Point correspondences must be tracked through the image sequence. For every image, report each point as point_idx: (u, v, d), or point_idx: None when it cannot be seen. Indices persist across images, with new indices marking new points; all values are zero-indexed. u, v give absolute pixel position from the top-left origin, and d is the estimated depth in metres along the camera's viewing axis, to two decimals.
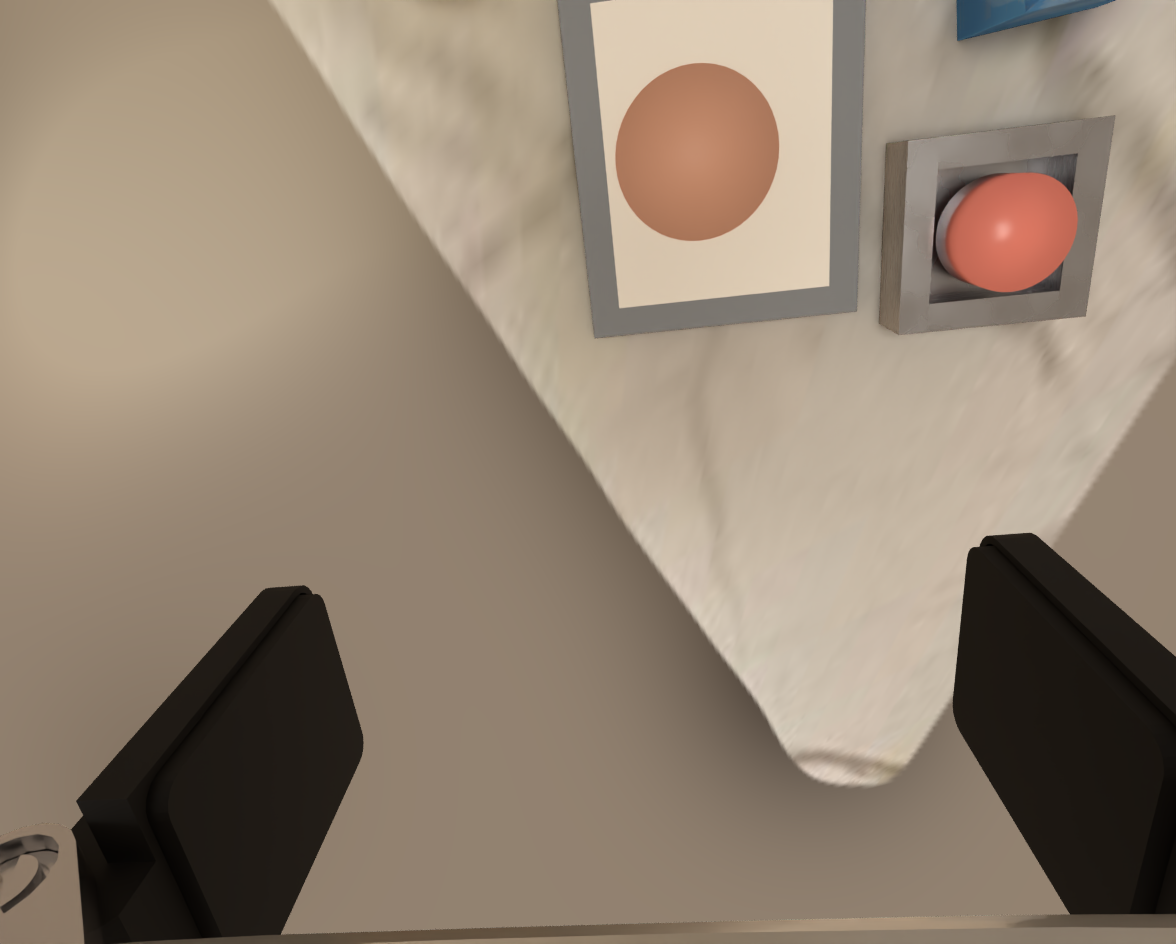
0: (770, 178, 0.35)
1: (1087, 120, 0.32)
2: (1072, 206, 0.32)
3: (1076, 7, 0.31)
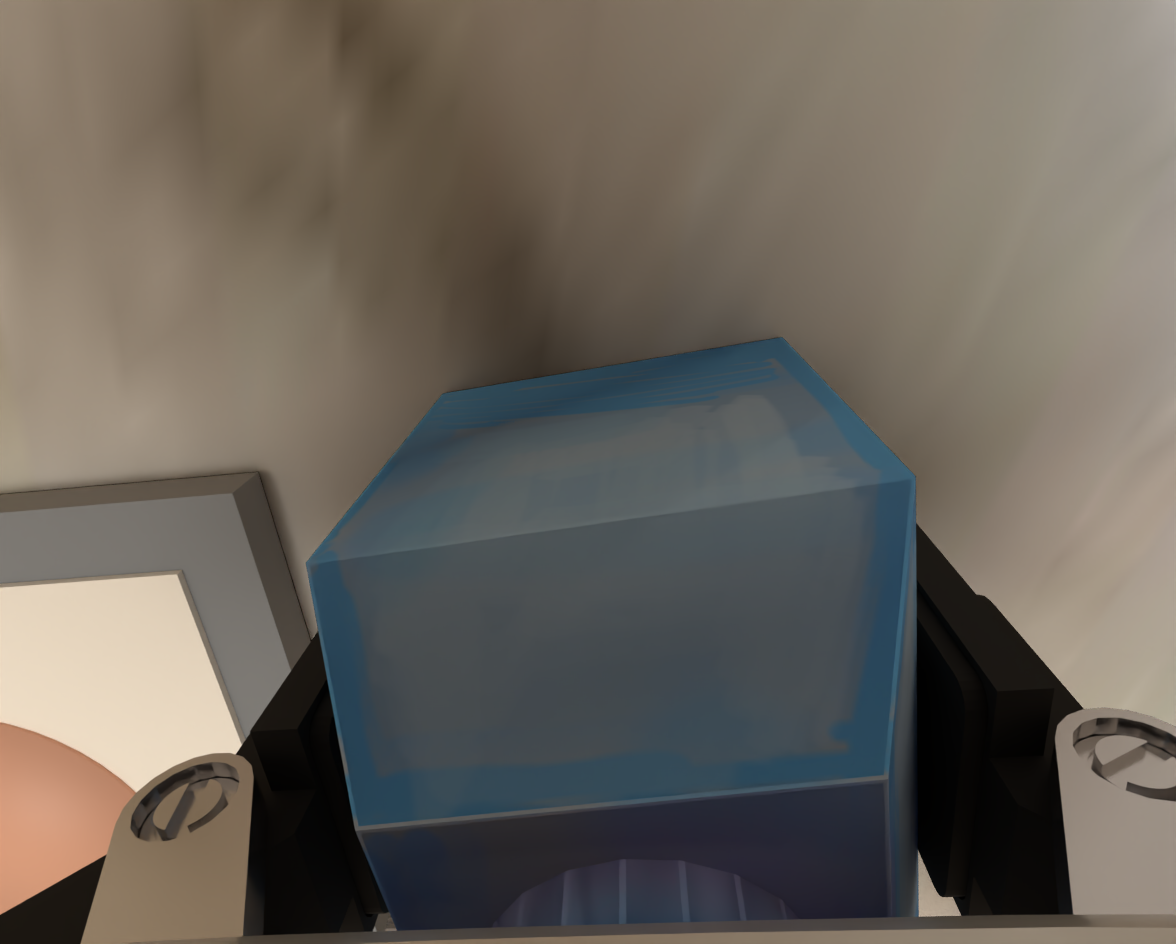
0: None
1: None
2: None
3: None
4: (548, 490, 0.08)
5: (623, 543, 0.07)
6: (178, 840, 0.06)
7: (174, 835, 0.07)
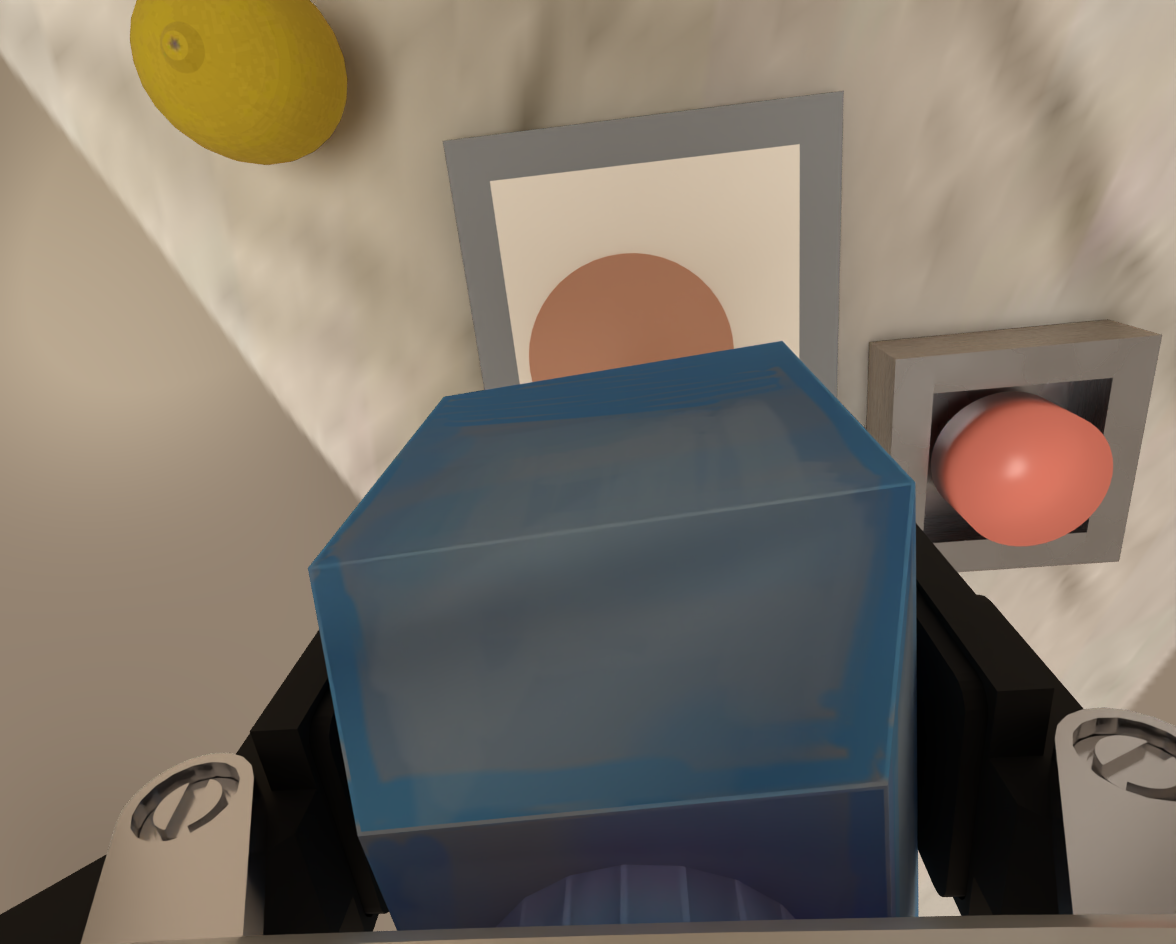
0: None
1: (1126, 340, 0.25)
2: (1106, 451, 0.25)
3: None
4: (549, 495, 0.08)
5: (624, 549, 0.07)
6: (178, 840, 0.06)
7: (174, 835, 0.07)
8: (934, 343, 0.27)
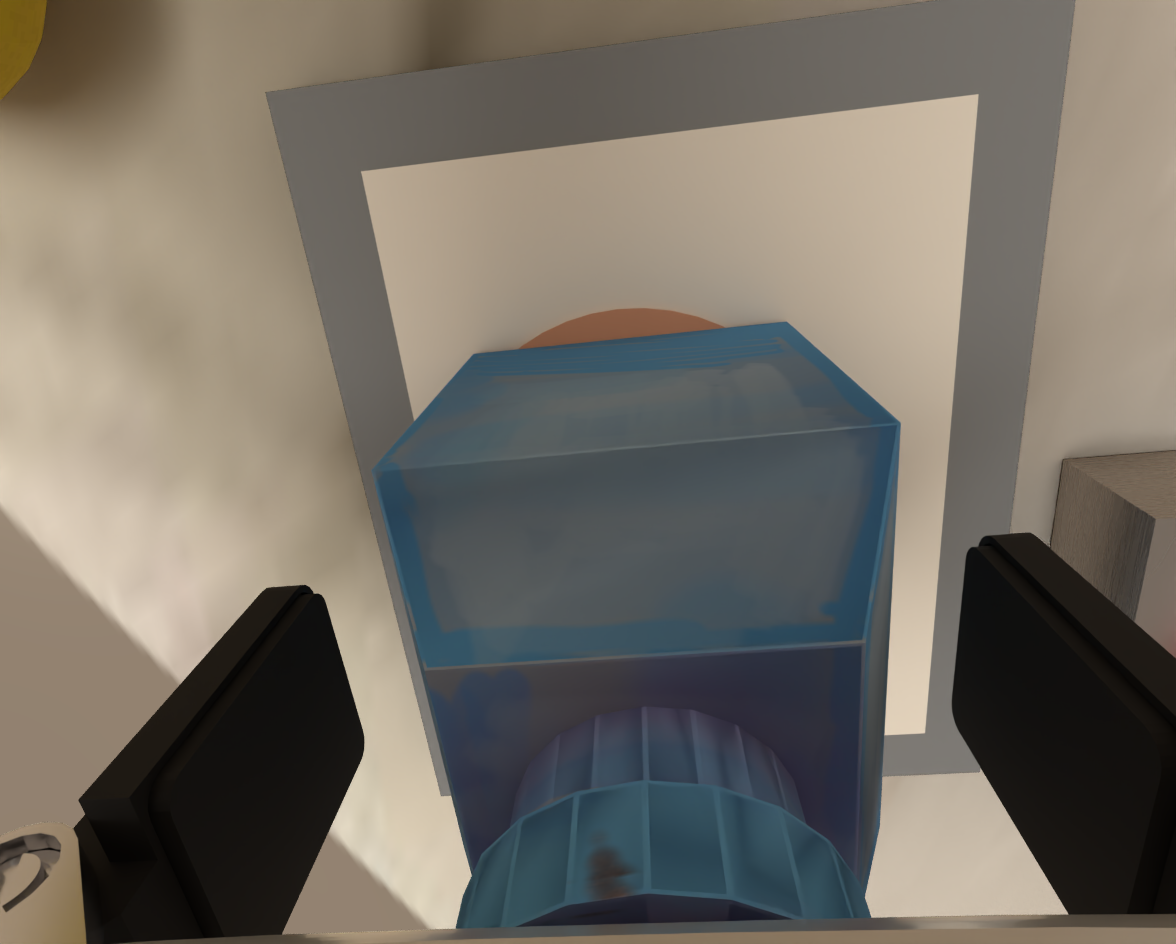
0: None
1: None
2: None
3: None
4: (582, 425, 0.09)
5: (650, 464, 0.08)
6: None
7: None
8: None
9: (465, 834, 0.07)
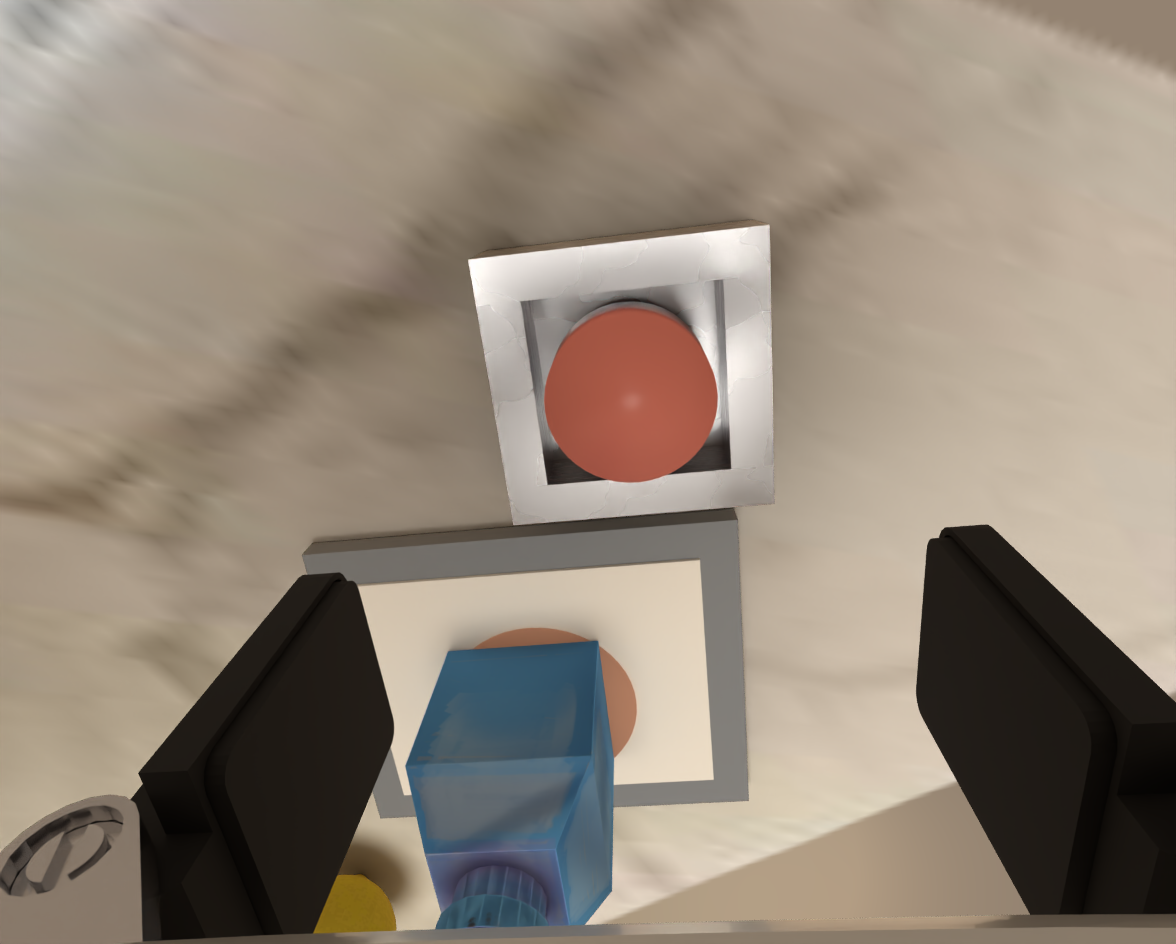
0: (565, 634, 0.29)
1: (477, 299, 0.22)
2: (590, 331, 0.21)
3: (602, 735, 0.27)
4: None
5: None
6: (59, 889, 0.06)
7: (52, 887, 0.06)
8: None
9: None
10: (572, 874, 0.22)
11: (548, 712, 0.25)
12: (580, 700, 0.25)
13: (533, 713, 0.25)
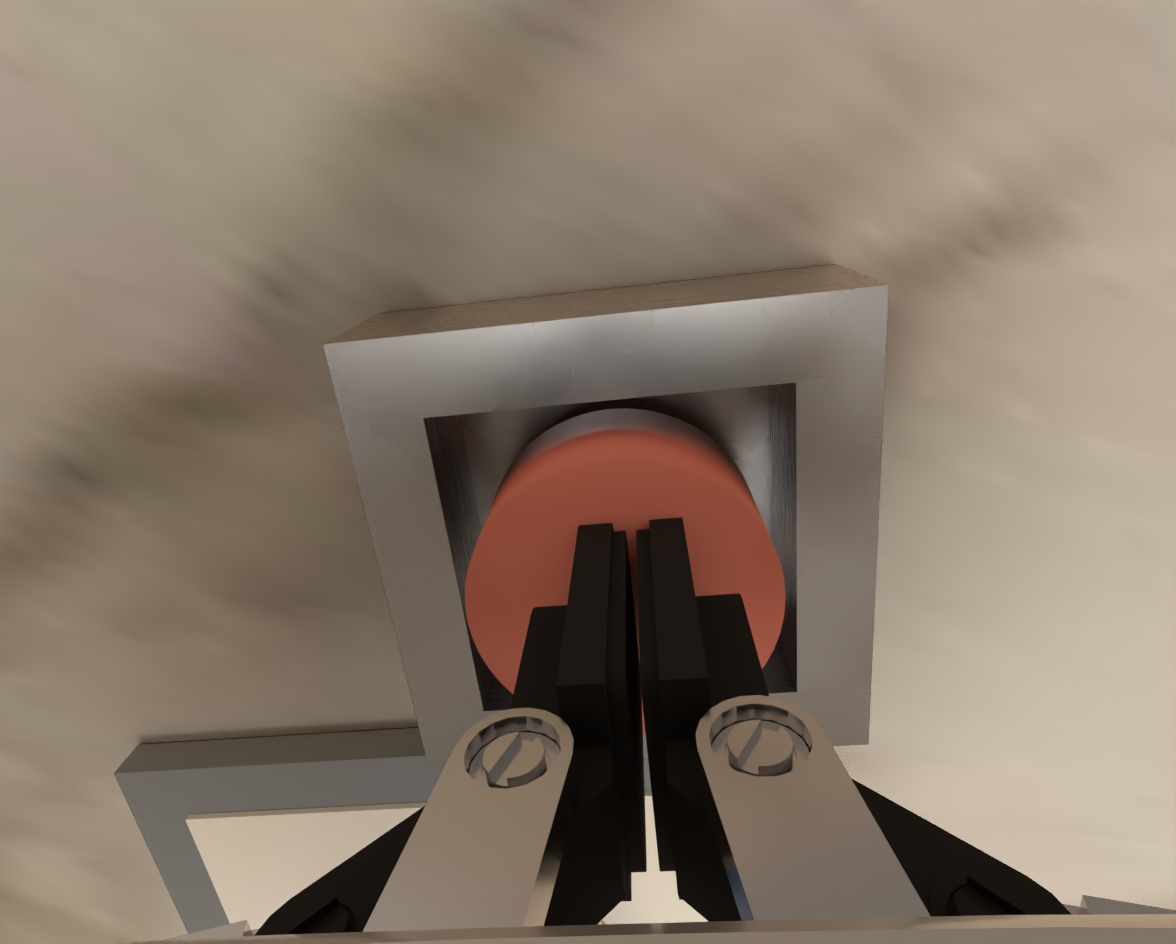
0: None
1: (344, 413, 0.12)
2: (547, 487, 0.11)
3: None
4: None
5: None
6: (495, 792, 0.06)
7: (495, 780, 0.07)
8: None
9: None
10: None
11: None
12: None
13: None
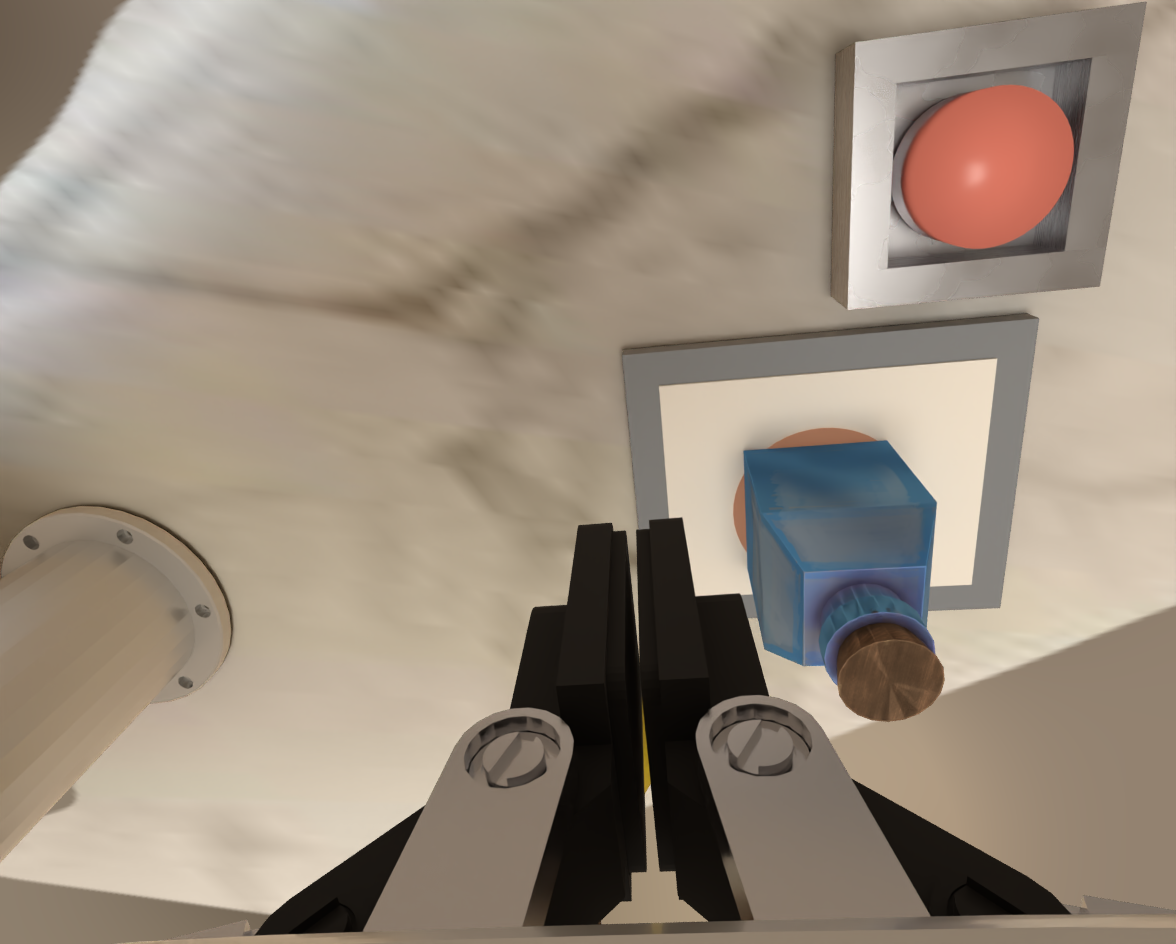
0: (855, 434, 0.31)
1: (856, 81, 0.24)
2: (969, 100, 0.24)
3: None
4: (760, 583, 0.29)
5: (767, 582, 0.27)
6: (495, 792, 0.06)
7: (495, 780, 0.07)
8: (838, 249, 0.28)
9: None
10: (924, 601, 0.25)
11: (874, 480, 0.28)
12: (899, 473, 0.28)
13: (859, 481, 0.28)
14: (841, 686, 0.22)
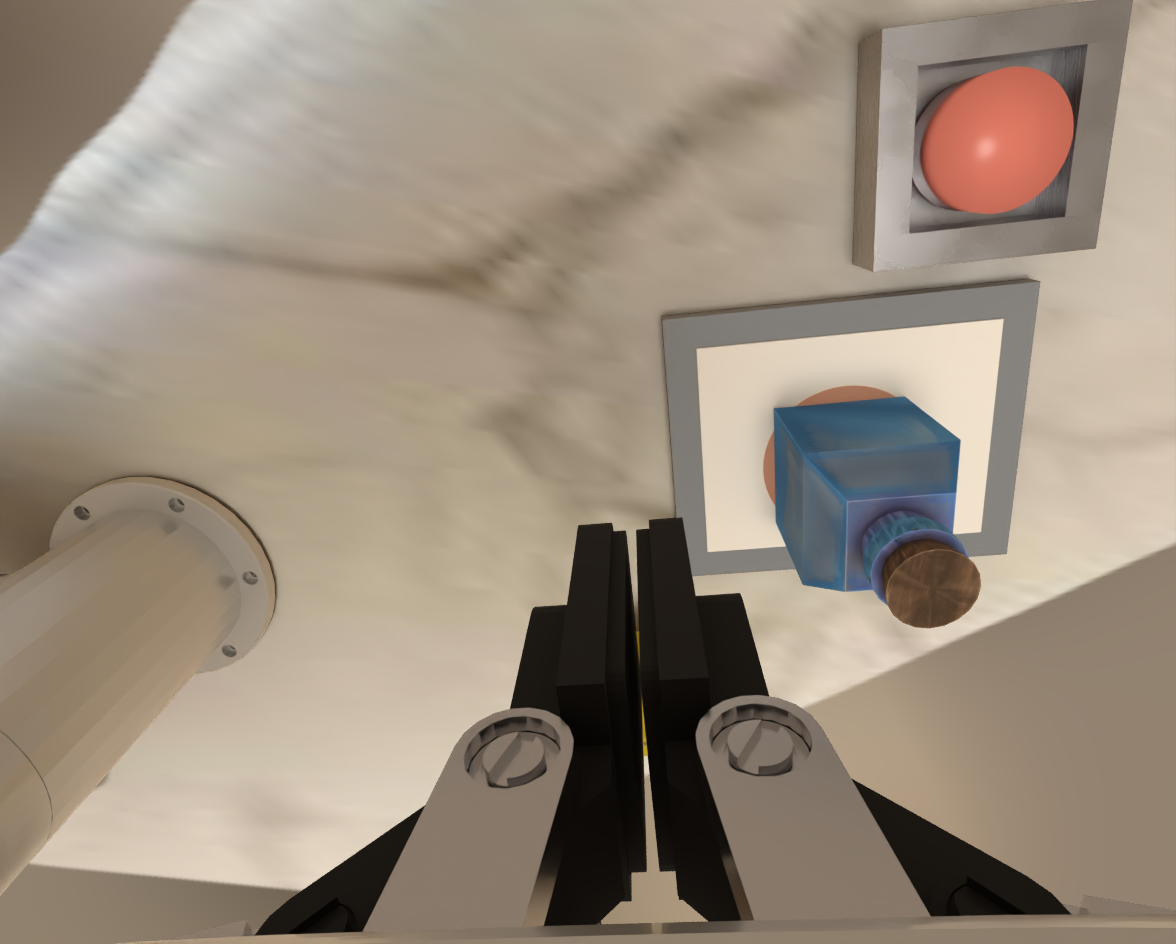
0: (876, 391, 0.34)
1: (883, 64, 0.28)
2: (983, 80, 0.27)
3: None
4: (797, 523, 0.31)
5: (807, 519, 0.30)
6: (495, 792, 0.06)
7: (495, 780, 0.07)
8: (862, 219, 0.31)
9: None
10: None
11: (900, 426, 0.31)
12: (921, 420, 0.31)
13: (886, 427, 0.31)
14: (889, 595, 0.25)
